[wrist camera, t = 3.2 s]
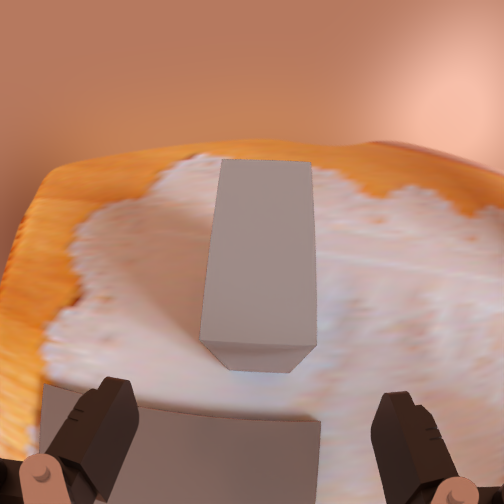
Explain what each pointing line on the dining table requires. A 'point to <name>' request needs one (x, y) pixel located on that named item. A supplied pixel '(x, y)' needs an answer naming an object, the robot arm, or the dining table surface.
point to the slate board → (204, 457)
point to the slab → (261, 267)
